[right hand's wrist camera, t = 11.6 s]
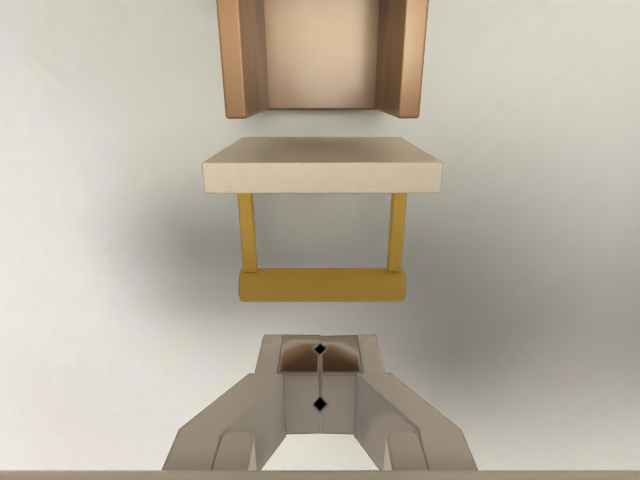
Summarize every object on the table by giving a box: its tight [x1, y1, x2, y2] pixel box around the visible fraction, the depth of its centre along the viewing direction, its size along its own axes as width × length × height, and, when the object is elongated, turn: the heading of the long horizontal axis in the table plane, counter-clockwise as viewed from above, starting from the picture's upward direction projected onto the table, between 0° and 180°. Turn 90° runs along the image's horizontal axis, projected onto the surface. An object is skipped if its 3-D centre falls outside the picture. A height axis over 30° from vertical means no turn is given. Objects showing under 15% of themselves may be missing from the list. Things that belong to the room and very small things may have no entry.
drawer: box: [202, 0, 443, 302], centre depth 17 cm, size 22×9×8 cm, turn 0°
